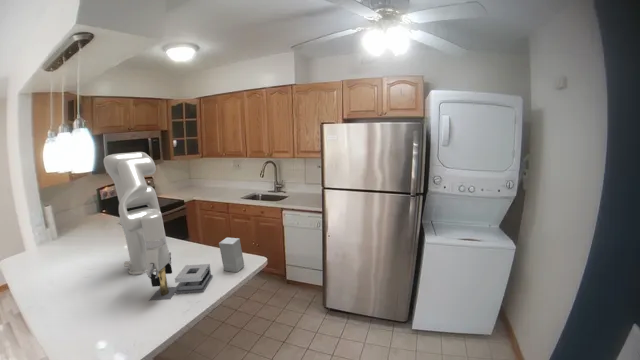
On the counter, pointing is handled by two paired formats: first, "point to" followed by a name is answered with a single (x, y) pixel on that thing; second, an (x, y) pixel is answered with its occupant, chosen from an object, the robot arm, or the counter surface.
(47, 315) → the counter surface
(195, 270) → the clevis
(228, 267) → the skincare box
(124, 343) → the counter surface
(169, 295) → the mat
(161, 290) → the pin
